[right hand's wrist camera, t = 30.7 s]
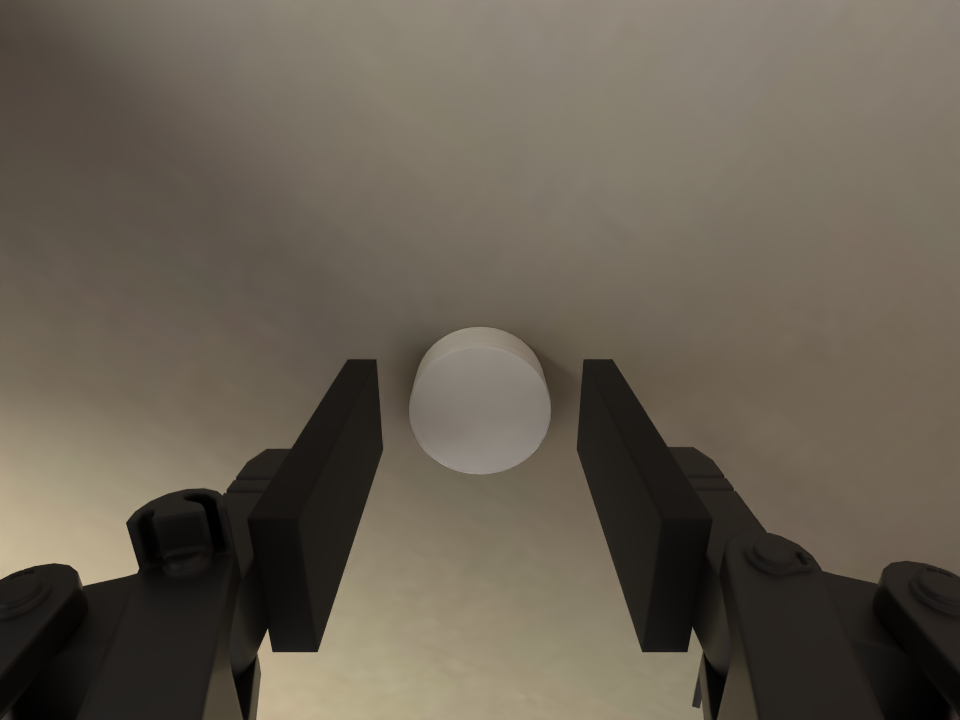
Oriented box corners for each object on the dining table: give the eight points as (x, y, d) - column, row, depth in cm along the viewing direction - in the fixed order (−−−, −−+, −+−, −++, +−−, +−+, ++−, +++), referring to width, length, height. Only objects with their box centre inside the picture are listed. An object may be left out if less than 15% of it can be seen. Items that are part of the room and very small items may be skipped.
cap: (393, 409, 16) (383, 437, 14) (454, 302, 15) (451, 320, 13) (502, 463, 17) (505, 495, 15) (569, 364, 15) (579, 389, 14)
